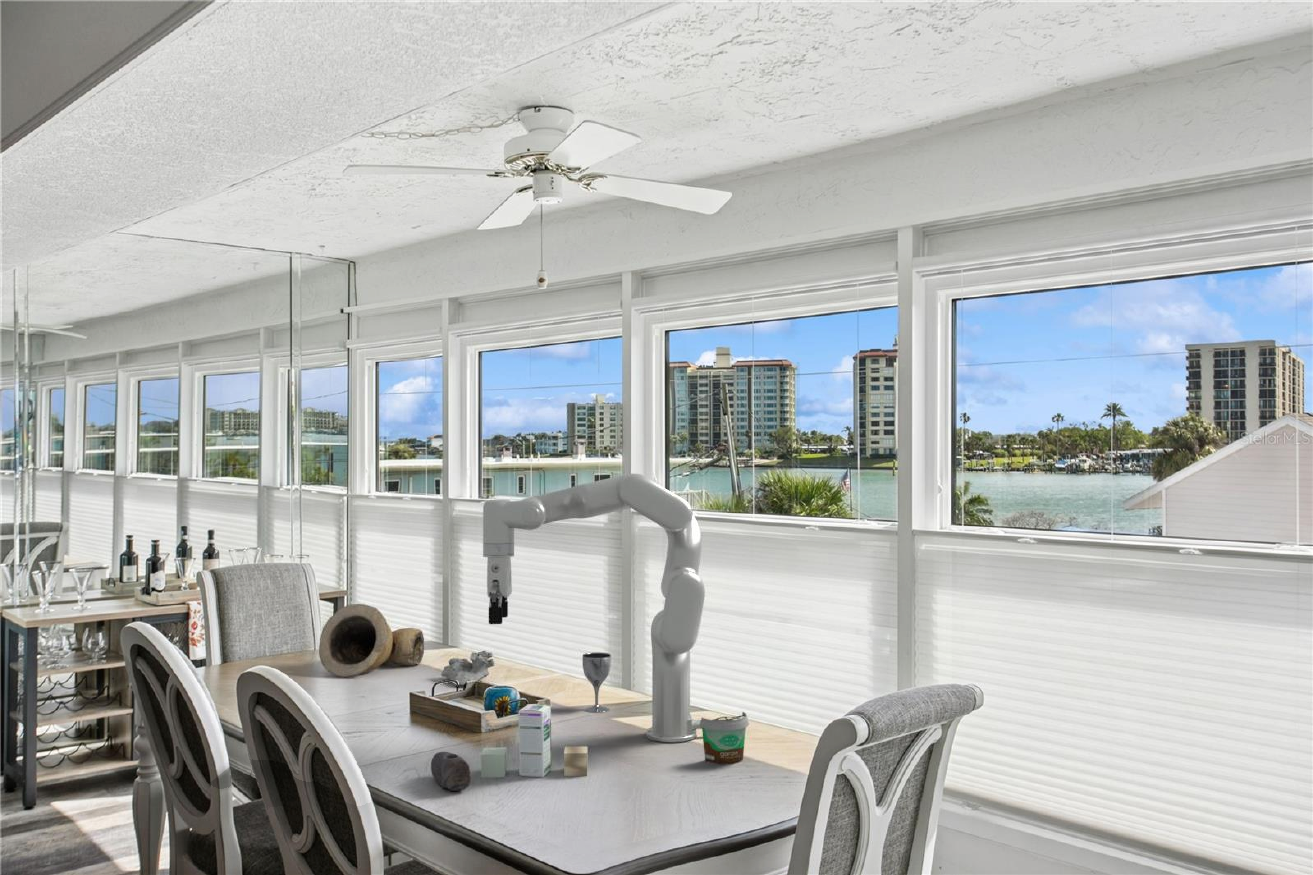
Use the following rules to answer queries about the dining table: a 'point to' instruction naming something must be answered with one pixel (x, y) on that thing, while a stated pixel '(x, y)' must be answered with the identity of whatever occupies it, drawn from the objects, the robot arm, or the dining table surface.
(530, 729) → the syrup box
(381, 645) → the footed stone vessel
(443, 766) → the perforated stone tool
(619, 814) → the dining table surface
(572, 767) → the birch cube
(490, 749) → the sage cube
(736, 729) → the food container
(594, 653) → the wine glass
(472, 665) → the coral
